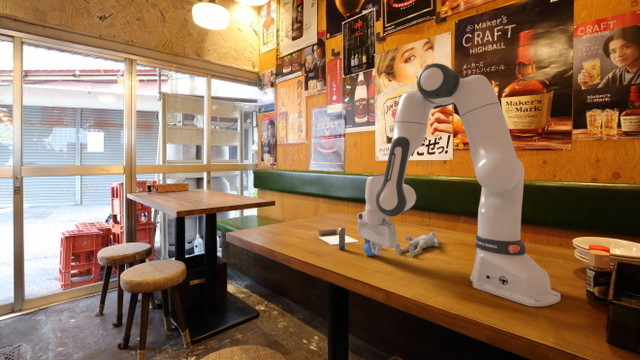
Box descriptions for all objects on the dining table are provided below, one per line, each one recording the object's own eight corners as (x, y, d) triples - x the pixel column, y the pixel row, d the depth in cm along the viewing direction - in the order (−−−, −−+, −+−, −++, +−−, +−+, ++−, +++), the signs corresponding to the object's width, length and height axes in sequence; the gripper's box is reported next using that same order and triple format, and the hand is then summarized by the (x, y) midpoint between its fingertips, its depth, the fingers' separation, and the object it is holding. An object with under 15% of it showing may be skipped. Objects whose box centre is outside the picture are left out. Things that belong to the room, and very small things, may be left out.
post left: (346, 250, 127) (346, 228, 126) (340, 250, 126) (340, 229, 125) (343, 248, 129) (343, 227, 129) (337, 249, 128) (337, 227, 128)
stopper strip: (336, 234, 155) (336, 229, 155) (320, 235, 151) (320, 231, 151) (334, 233, 157) (335, 228, 156) (318, 235, 153) (318, 230, 153)
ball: (382, 245, 117) (373, 238, 122) (370, 247, 115) (362, 239, 119) (379, 257, 119) (371, 249, 124) (367, 259, 117) (359, 251, 121)
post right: (371, 246, 132) (371, 225, 132) (366, 247, 131) (366, 226, 131) (368, 245, 135) (368, 224, 134) (363, 245, 134) (363, 225, 133)
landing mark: (359, 241, 140) (359, 241, 140) (331, 245, 135) (331, 244, 135) (344, 234, 153) (344, 234, 153) (318, 237, 147) (318, 237, 147)
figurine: (388, 241, 123) (420, 226, 145) (388, 256, 124) (421, 238, 146) (420, 247, 114) (449, 230, 136) (420, 263, 115) (449, 243, 137)
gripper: (402, 221, 106) (401, 260, 107) (368, 212, 125) (367, 245, 126) (387, 223, 104) (386, 263, 104) (354, 213, 122) (354, 247, 123)
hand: (375, 253), depth 115 cm, fingers closed
